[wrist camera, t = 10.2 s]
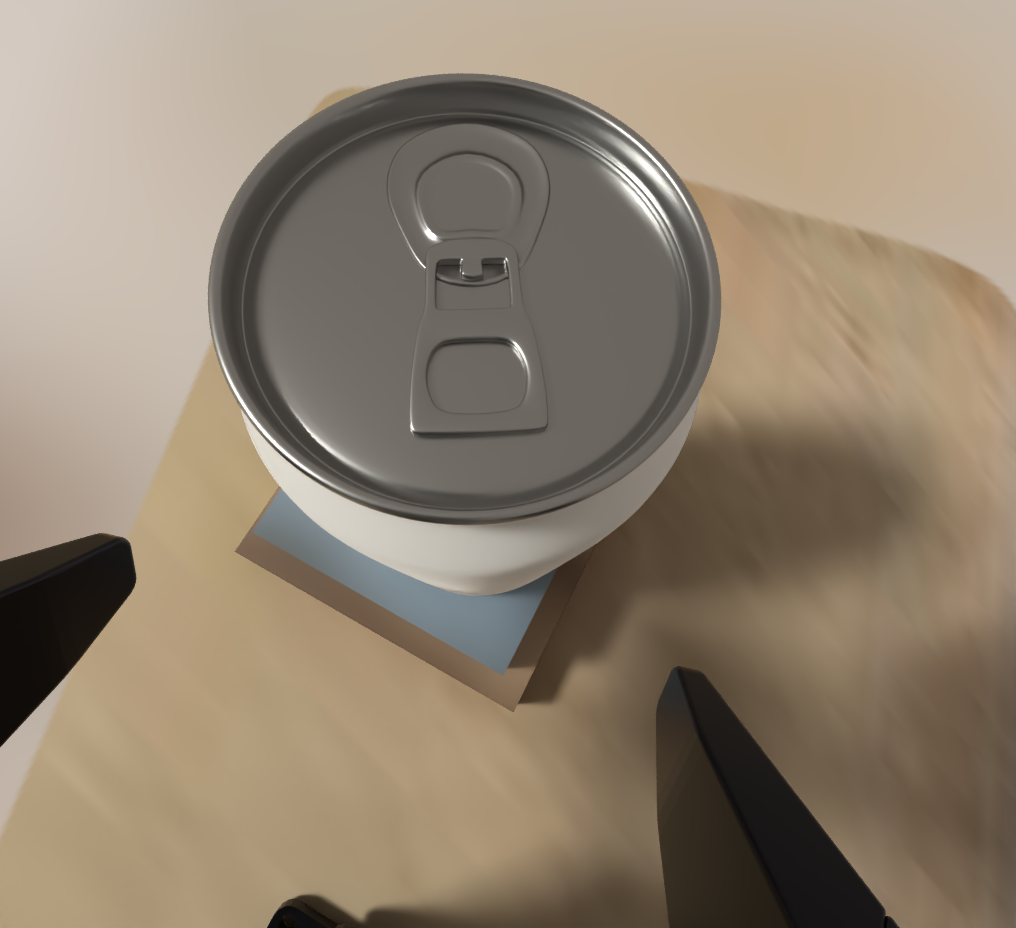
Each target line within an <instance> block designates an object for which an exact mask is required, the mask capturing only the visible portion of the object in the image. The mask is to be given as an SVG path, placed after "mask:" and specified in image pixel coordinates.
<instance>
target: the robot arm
mask: <svg viewBox="0 0 1016 928" xmlns="http://www.w3.org/2000/svg"><path fill="white" fill-rule="evenodd" d="M135 583H136V572H135V566H134V561H133V555H132V549H131V545H130V543H129V542H128V540H127V539H125V538H123V537H119V536H114V535H110V534H104V533H99V534H94V535H91V536H87V537H84V538H80V539H77V540H73V541H70V542H66V543H63V544H59V545H56V546H52V547H49V548H45V549H42V550H38V551H35V552H31V553H28V554H25V555H21V556H18V557H14V558H11V559H7V560H4V561H0V747H1V746H2V745H3V744H4V743H5V742H6V741H7V739H8V738H9V737H10V736H11V735H12V734H13V733H14V732H15V731H16V730H17V729H18V727H20V726H21V724H22V723H23V722H24V721H25V720H26V719H27V718H28V717H29V716H30V715H31V714H32V712H33V711H34V710H35V709H36V708H37V707H38V706H39V705H40V704H41V703H42V702H43V701H44V700H45V699H46V697H47V696H48V695H49V694H50V693H51V692H52V691H53V690H54V689H55V688H56V687H57V686H58V684H59V683H60V682H61V681H62V680H63V679H64V678H65V677H66V675H67V674H68V673H69V672H70V671H71V669H72V668H73V667H74V666H75V664H76V663H77V662H78V661H79V660H80V658H81V657H82V656H83V654H84V653H85V652H86V651H87V649H88V648H89V647H90V645H91V644H92V643H93V642H94V640H95V639H96V638H97V636H98V635H99V634H100V633H101V631H102V630H103V629H104V627H105V626H106V625H107V623H108V622H109V621H110V620H111V618H112V617H113V616H114V614H115V613H116V612H117V611H118V609H119V608H120V607H121V605H122V604H123V603H124V602H125V600H126V599H127V598H128V596H129V595H130V594H131V592H132V590H133V589H134V586H135ZM656 766H657V820H658V831H659V841H660V850H661V859H662V868H663V876H664V885H665V894H666V903H667V911H668V920H669V928H899V927H898V925H897V924H896V923H895V921H894V920H893V919H892V918H891V917H890V916H885V915H886V912H885V909H884V907H883V906H882V905H881V903H880V902H879V901H878V900H877V898H876V897H875V896H874V894H873V893H872V892H871V890H870V889H869V888H868V887H867V885H866V884H865V883H864V881H863V880H862V879H861V877H860V876H859V875H858V874H857V872H856V871H855V870H854V868H853V867H852V866H851V864H850V863H849V862H848V861H847V859H846V858H845V857H844V855H843V854H842V853H841V851H840V850H839V849H838V848H837V846H836V845H835V844H834V842H833V841H832V840H831V838H830V837H829V836H828V835H827V833H826V832H825V831H824V829H823V828H822V827H821V825H820V824H819V823H818V822H817V820H816V819H815V818H814V816H813V815H812V814H811V812H810V811H809V810H808V809H807V807H806V806H805V805H804V803H803V802H802V801H801V799H800V798H799V797H798V796H797V794H796V793H795V792H794V790H793V789H792V788H791V786H790V785H789V784H788V783H787V781H786V780H785V779H784V777H783V776H782V775H781V773H780V772H779V771H778V770H777V768H776V767H775V766H774V764H773V763H772V762H771V760H770V759H769V758H768V757H767V755H766V754H765V753H764V751H763V750H762V749H761V747H760V746H759V745H758V744H757V742H756V741H755V740H754V738H753V737H752V736H751V734H750V733H749V732H748V731H747V729H746V728H745V727H744V725H743V724H742V723H741V721H740V720H739V719H738V718H737V716H736V715H735V714H734V712H733V711H732V710H731V708H730V707H729V706H728V705H727V703H726V702H725V701H724V699H723V698H722V697H721V695H720V694H719V693H718V692H717V690H716V689H715V688H714V686H713V685H712V684H711V682H710V681H709V680H708V679H707V677H706V676H705V675H704V674H703V673H702V672H700V671H698V670H694V669H689V668H685V667H681V666H677V667H675V668H674V669H673V670H672V671H671V673H670V676H669V678H668V680H667V683H666V685H665V687H664V690H663V692H662V694H661V696H660V699H659V701H658V705H657V711H656ZM285 915H291V916H293V918H294V919H295V926H293V927H289V926H286V924H285V923H284V919H283V917H284V916H285ZM267 928H354V927H352V926H350V925H349V924H347V923H345V924H341V925H338V924H336V923H334V922H333V921H331V920H330V919H328V918H327V917H325V916H324V915H322V914H320V913H319V912H317V911H316V910H314V909H313V908H311V907H309V906H308V905H306V904H305V903H303V902H302V901H300V900H297V899H290V900H287V901H286V902H284V903H283V904H282V905H281V906H280V907H279V909H278V910H277V912H276V913H275V914H274V916H273V918H272V919H271V921H270V923H269V925H268V927H267Z"/></svg>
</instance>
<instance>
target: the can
mask: <svg viewBox="0 0 1016 928" xmlns="http://www.w3.org/2000/svg"><path fill="white" fill-rule="evenodd" d="M208 311H209V322H210V328H211V335H212V339H213V344H214V348H215V351H216V355H217V358H218V361H219V364H220V367H221V370H222V372H223V374H224V377H225V379H226V382H227V384H228V386H229V388H230V390H231V392H232V394H233V395H234V397H235V399H236V401H237V403H238V404H239V406H240V407H241V411H242V414H243V418H244V421H245V424H246V427H247V430H248V432H249V435H250V437H251V440H252V442H253V444H254V446H255V448H256V450H257V452H258V454H259V456H260V458H261V459H262V461H263V463H264V464H265V466H266V468H267V469H268V471H269V472H270V474H271V475H272V477H273V478H274V479H275V481H276V482H277V483H278V485H279V486H280V487H281V488H282V490H283V491H284V492H285V493H286V494H287V495H288V496H289V498H290V499H291V500H292V501H293V502H294V503H295V504H296V505H297V506H298V507H299V508H300V509H301V510H302V511H303V512H304V513H305V514H306V515H307V516H308V517H310V518H311V519H312V520H313V521H314V522H315V523H316V524H318V525H319V526H320V527H321V528H323V529H324V530H325V531H327V532H328V533H329V534H331V535H332V536H334V537H335V538H337V539H338V540H340V541H341V542H343V543H345V544H346V545H348V546H350V547H351V548H353V549H355V550H356V551H358V552H360V553H362V554H364V555H366V556H367V557H369V558H371V559H373V560H375V561H378V562H380V563H382V564H384V565H386V566H388V567H390V568H392V569H395V570H397V571H399V572H401V573H404V574H406V575H408V576H410V577H413V578H415V579H417V580H420V581H422V582H424V583H427V584H429V585H432V586H434V587H437V588H440V589H443V590H446V591H449V592H453V593H457V594H463V595H475V596H481V595H493V594H499V593H504V592H508V591H511V590H514V589H517V588H519V587H522V586H524V585H526V584H528V583H530V582H532V581H534V580H536V579H538V578H540V577H541V576H543V575H545V574H547V573H549V572H550V571H552V570H554V569H556V568H557V567H559V566H561V565H562V564H564V563H566V562H567V561H569V560H571V559H572V558H574V557H576V556H577V555H579V554H581V553H582V552H584V551H585V550H587V549H589V548H590V547H592V546H593V545H595V544H596V543H598V542H599V541H601V540H602V539H603V538H605V537H606V536H607V535H609V534H610V533H611V532H613V531H614V530H615V529H617V528H618V527H619V526H620V525H622V524H623V523H624V522H625V521H626V520H627V519H629V518H630V517H631V516H632V515H633V514H634V513H635V512H636V511H637V510H638V509H639V508H640V507H641V506H642V505H643V504H644V503H645V502H646V500H647V499H648V498H649V497H650V496H651V495H652V493H653V492H654V491H655V490H656V488H657V487H658V486H659V484H660V483H661V482H662V481H663V479H664V478H665V476H666V475H667V473H668V472H669V470H670V469H671V467H672V466H673V464H674V462H675V461H676V459H677V457H678V455H679V453H680V452H681V449H682V447H683V445H684V443H685V441H686V439H687V436H688V434H689V431H690V428H691V426H692V423H693V419H694V416H695V413H696V408H697V404H698V399H699V394H700V389H701V387H702V385H703V383H704V381H705V378H706V376H707V373H708V371H709V368H710V365H711V362H712V359H713V355H714V352H715V348H716V343H717V339H718V333H719V326H720V317H721V285H720V275H719V269H718V263H717V258H716V254H715V250H714V246H713V243H712V239H711V236H710V233H709V231H708V228H707V225H706V223H705V221H704V218H703V216H702V214H701V212H700V210H699V208H698V206H697V204H696V202H695V201H694V199H693V197H692V195H691V194H690V192H689V190H688V189H687V187H686V186H685V184H684V183H683V182H682V180H681V179H680V177H679V176H678V175H677V173H676V172H675V171H674V170H673V168H672V167H671V166H670V165H669V164H668V162H667V161H666V160H665V159H664V158H663V157H662V156H661V155H660V154H659V153H658V152H657V151H656V150H655V149H654V148H653V147H652V146H651V145H650V144H649V143H648V142H647V141H645V140H644V139H643V138H642V137H641V136H640V135H639V134H637V133H636V132H635V131H634V130H632V129H631V128H630V127H628V126H627V125H625V124H624V123H622V122H621V121H620V120H618V119H617V118H615V117H614V116H612V115H610V114H609V113H607V112H605V111H604V110H602V109H600V108H598V107H597V106H594V105H593V104H591V103H589V102H587V101H584V100H582V99H580V98H578V97H576V96H573V95H571V94H568V93H566V92H563V91H560V90H558V89H554V88H552V87H548V86H545V85H542V84H538V83H534V82H530V81H526V80H521V79H516V78H510V77H504V76H496V75H486V74H439V75H429V76H421V77H415V78H409V79H404V80H399V81H395V82H391V83H388V84H383V85H380V86H377V87H374V88H371V89H368V90H365V91H362V92H360V93H357V94H355V95H352V96H350V97H348V98H345V99H343V100H341V101H339V102H337V103H335V104H333V105H331V106H329V107H327V108H326V109H324V110H322V111H320V112H319V113H317V114H315V115H314V116H312V117H311V118H309V119H308V120H306V121H305V122H303V123H302V124H300V125H299V126H298V127H297V128H295V129H294V130H293V131H291V132H290V133H289V134H288V135H287V136H285V137H284V138H283V139H282V140H281V141H279V142H278V143H277V144H276V145H275V146H274V147H273V148H272V149H271V150H270V151H269V152H268V153H267V154H266V155H265V157H263V159H262V160H261V161H260V162H259V163H258V164H257V166H256V167H255V168H254V169H253V171H252V172H251V173H250V175H249V176H248V178H247V179H246V180H245V182H244V183H243V185H242V186H241V188H240V189H239V191H238V192H237V194H236V196H235V198H234V199H233V201H232V203H231V205H230V207H229V209H228V211H227V213H226V215H225V218H224V220H223V223H222V225H221V228H220V231H219V233H218V237H217V240H216V243H215V247H214V251H213V255H212V260H211V266H210V274H209V284H208Z"/></svg>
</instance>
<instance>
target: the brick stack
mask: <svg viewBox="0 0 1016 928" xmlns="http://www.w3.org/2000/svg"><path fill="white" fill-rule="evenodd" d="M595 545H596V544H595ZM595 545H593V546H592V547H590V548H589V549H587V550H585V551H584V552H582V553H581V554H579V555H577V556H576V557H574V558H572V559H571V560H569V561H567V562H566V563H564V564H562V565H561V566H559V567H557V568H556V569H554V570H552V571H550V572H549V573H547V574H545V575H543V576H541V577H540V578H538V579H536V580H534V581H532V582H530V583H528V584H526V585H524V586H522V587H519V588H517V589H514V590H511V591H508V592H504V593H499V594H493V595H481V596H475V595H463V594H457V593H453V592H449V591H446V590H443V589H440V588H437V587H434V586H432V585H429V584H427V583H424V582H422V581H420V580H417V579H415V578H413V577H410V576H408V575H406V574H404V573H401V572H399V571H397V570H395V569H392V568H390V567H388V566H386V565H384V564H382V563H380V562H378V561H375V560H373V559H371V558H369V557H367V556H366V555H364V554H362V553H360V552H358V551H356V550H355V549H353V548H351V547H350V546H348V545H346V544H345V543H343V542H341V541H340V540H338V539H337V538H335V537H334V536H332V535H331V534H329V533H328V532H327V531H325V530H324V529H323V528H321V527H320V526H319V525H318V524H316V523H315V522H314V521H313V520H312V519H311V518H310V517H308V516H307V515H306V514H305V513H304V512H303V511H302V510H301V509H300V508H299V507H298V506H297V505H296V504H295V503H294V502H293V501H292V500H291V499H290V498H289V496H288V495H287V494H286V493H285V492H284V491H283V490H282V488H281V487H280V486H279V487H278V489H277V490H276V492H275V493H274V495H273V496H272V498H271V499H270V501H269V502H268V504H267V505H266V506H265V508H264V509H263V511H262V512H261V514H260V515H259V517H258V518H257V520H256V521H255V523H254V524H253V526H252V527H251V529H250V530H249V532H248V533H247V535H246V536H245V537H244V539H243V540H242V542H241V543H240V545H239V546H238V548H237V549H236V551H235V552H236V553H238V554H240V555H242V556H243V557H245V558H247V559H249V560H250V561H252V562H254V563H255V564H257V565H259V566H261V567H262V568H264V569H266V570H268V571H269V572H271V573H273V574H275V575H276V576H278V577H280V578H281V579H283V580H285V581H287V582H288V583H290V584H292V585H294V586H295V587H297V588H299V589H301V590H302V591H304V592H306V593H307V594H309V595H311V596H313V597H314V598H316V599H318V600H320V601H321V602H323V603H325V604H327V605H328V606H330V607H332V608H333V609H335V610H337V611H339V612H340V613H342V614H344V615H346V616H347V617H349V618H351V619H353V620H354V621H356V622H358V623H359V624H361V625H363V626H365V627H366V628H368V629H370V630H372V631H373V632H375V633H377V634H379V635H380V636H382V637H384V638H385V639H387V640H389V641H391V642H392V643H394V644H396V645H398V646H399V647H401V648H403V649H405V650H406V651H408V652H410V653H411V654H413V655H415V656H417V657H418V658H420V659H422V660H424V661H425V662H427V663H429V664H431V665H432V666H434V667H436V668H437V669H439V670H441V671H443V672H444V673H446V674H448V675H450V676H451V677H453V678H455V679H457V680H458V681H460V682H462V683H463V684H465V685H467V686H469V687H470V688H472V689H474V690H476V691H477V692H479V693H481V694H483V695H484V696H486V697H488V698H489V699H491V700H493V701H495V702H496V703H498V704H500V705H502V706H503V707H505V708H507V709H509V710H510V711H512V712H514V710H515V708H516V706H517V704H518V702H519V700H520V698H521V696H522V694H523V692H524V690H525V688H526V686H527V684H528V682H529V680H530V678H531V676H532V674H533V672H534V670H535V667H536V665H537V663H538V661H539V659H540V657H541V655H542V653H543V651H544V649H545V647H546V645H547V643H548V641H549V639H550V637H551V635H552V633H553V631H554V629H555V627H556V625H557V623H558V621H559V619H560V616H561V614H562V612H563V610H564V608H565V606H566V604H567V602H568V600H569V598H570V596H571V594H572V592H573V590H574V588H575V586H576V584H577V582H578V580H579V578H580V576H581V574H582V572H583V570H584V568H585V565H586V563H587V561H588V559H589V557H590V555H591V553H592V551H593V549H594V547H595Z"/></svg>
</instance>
